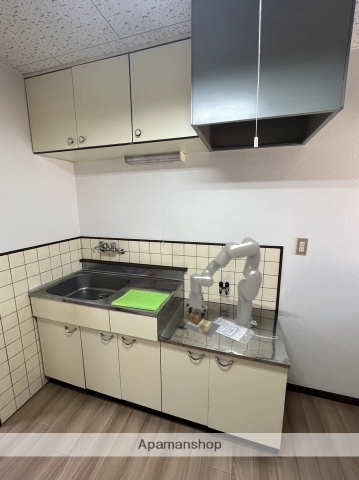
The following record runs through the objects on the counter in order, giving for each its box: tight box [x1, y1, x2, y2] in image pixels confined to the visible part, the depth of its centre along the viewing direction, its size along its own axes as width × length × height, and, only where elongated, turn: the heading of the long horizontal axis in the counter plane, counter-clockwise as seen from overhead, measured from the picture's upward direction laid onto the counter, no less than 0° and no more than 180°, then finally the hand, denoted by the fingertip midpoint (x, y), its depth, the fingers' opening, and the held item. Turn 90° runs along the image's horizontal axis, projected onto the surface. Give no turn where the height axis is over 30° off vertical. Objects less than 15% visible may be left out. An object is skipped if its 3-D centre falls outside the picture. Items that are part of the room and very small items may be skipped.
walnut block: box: [189, 310, 203, 326], centre depth 152 cm, size 6×6×6 cm
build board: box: [183, 318, 221, 338], centre depth 149 cm, size 20×15×1 cm
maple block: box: [199, 318, 212, 336], centre depth 143 cm, size 6×6×6 cm
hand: (196, 315), depth 152 cm, fingers open, 9 cm apart
